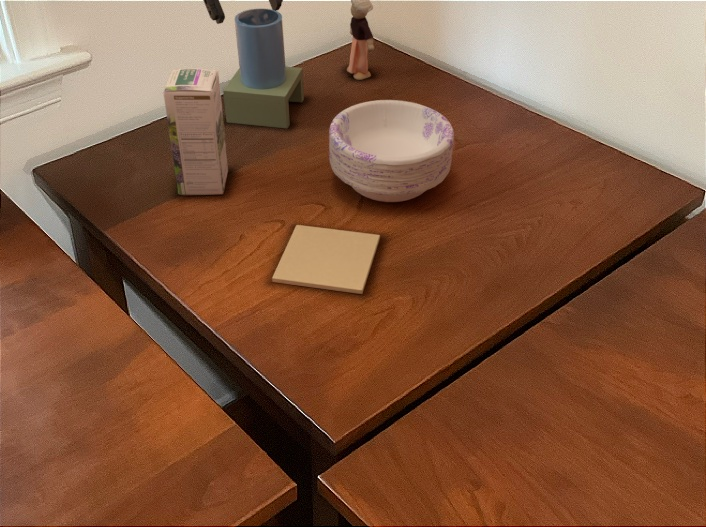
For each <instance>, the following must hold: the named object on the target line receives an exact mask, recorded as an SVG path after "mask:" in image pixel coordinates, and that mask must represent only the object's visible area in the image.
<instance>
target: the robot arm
mask: <svg viewBox="0 0 706 527" xmlns="http://www.w3.org/2000/svg"><path fill="white" fill-rule="evenodd" d="M202 1H203V3H204V6H205V8H206V10H207V13H208V15H209V18H210V19H211V20H212V21H215V22H216V24H217V25H219V24H223V23H224V21H225V19H226V14H225V12H224V10H223V6H222V4H221V2H220V0H202ZM268 2H269V6H270V7H271V10H275V11H277V12H278V11H279V10H280V9H281V7H282V3H283V2H284V0H268Z"/></svg>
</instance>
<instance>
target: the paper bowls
mask: <svg viewBox="0 0 706 527" xmlns="http://www.w3.org/2000/svg"><path fill="white" fill-rule="evenodd" d="M328 141H329V143H328V152H329V153H328V155H329V156H328V157H329V165H330V168H331V171H332V172H333V173H334V175H335V176H336V177H337V178H338V179H339V180H341V181H342V182H343V183H344V184H347V185H348V186H350V187H351V188H352V189H353V190H354V191H355V192H357V193H358V194H359V195H361V196H363V197H365V198H367V199H370V200H373V201H377V202H384V203H398V202H399V203H400V202H405V201H409V200H413V199H415V198H417V197H419V196H421V195H422V194H423V193H425V192H427V191H428V190H430V189H432V188H435V187H437V186H438V185H439V184H441V183H442V182H443V181H444V180H445V179H446V177H447V176H448V175H449V173H450V170H451V166H452V160H453V149H454V143H455V132H454V127H453V126H452V124H451V122H450V121H449V120H448V118H447V117H445V116H444V115H443V114H442V113H440V112H438V111H437V110H435V109H433V108H431V107H428V106H426V105H423V104H421V103H416V102H413V101H406V100H399V99H379V100H370V101H365V102H364V101H363V102H360V103H357V104H353V105H351V106H349V107H347V108H345V109H343V110H341V111H340V112H338V114H336V116H334V118H333V119H332V121H331V122H330V125H329V130H328Z"/></svg>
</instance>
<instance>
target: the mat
mask: <svg viewBox="0 0 706 527" xmlns="http://www.w3.org/2000/svg"><path fill="white" fill-rule="evenodd" d="M380 239H381V235H380V234H374V233H367V232H358V231H351V230H343V229H334V228H326V227H319V226H318V227H317V226H309V225H303V224H302V225H301V224H296V225H295V227H294V229H293V231H292V234H291V235H290V238H289V240H288V242H287V245H286V246H285V249H284V251H283V253H282V256H281V257H280V260H279V262H278V265H277V266H276V268H275V271H274V272H273V275H272V277H271V281H272V283H275V284H276V283H277V284H284V285H292V286H298V287H299V286H300V287H306V288H307V287H308V288H314V289H322V290H329V291H336V292H342V293H343V292H344V293H351V294H358V295H363V293H364V290H365V287H366V284H367V280H368V277H369V274H370V271H371V268H372V265H373V262H374V259H375V255H376V253H377V249H378V247H379V243H380Z"/></svg>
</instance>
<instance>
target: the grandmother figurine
mask: <svg viewBox="0 0 706 527" xmlns="http://www.w3.org/2000/svg"><path fill="white" fill-rule="evenodd" d="M350 3H351V6H350V14H351V16H352V17H351V18H350V23H349V34H350V35H351V36H352V40H351V48H350V55H349V63H348V64H349V65H348V66H347V68H346V71H347V73H349V74H353V78H354V79H355V80H358V81H361V80H362V81H363V80H365V79H368V78H371V76H372V74H371V72H370V70H369V62H368V53H369V52H372V51H374V50H375V46H374V35H373V33H372V30H371V28H370V26H369V21H368V19H367V15H368V13H369V12H371V11H373V9H374V5H373V3H372V2H371V0H350Z"/></svg>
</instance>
